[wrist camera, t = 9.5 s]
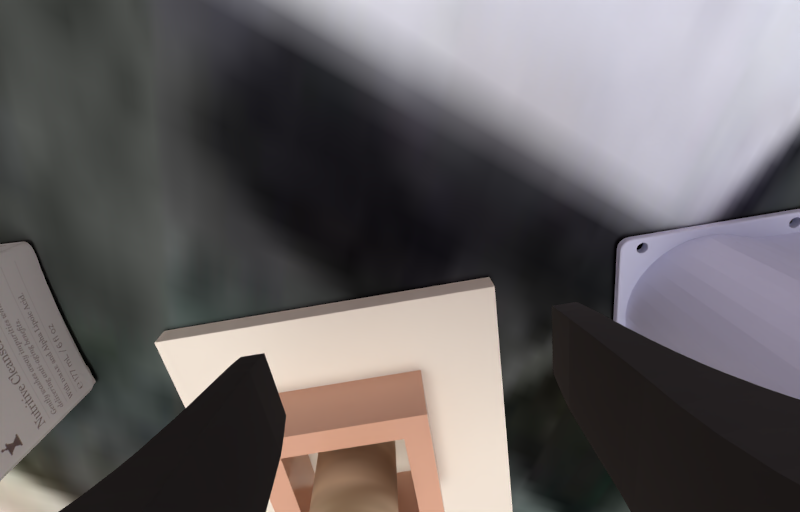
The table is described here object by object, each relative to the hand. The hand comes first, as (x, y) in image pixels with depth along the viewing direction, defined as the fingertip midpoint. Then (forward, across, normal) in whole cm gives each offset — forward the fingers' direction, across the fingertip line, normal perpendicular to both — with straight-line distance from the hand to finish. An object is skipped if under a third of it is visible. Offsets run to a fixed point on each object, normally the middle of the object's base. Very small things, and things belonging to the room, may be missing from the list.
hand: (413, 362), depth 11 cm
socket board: (+9, +4, +11) cm, 15 cm away
